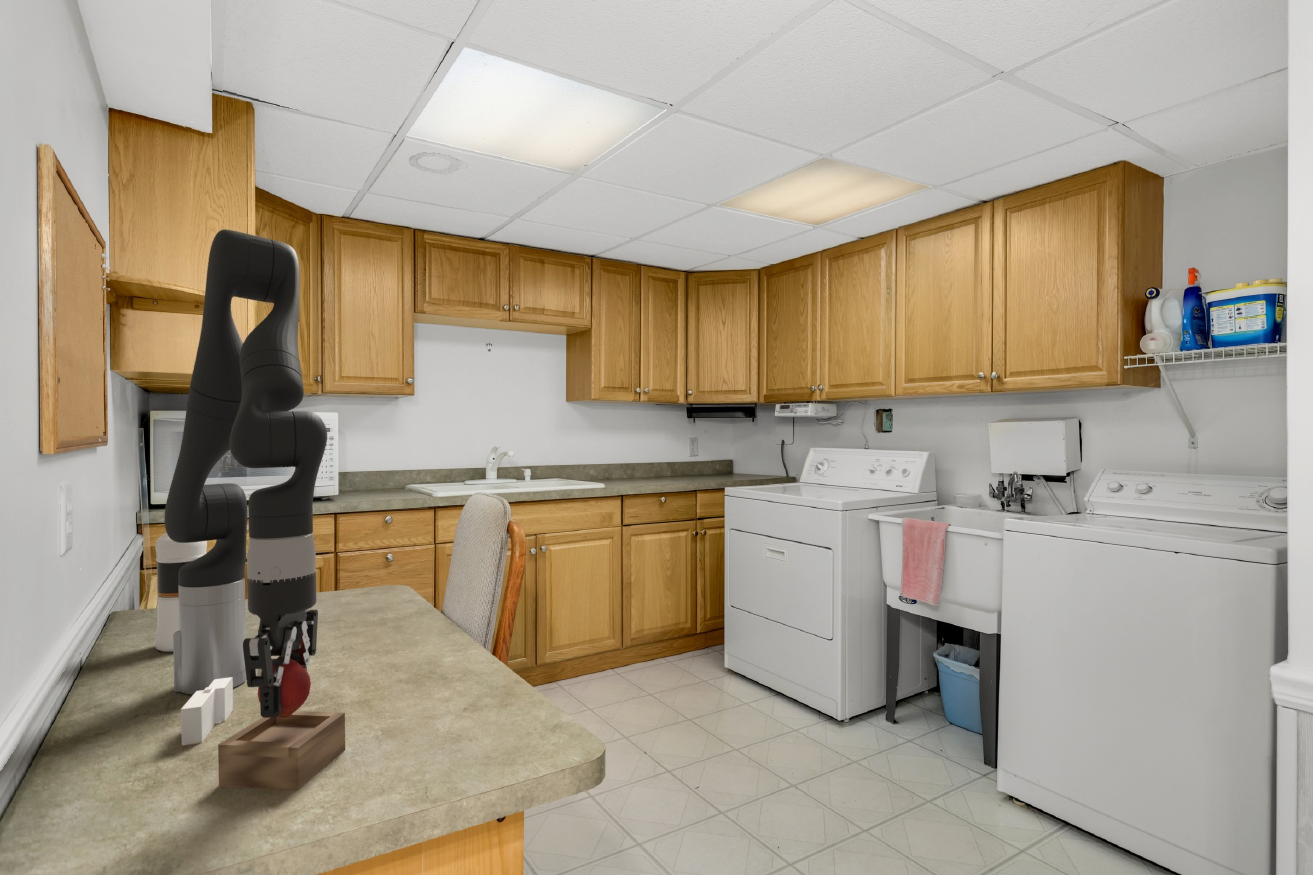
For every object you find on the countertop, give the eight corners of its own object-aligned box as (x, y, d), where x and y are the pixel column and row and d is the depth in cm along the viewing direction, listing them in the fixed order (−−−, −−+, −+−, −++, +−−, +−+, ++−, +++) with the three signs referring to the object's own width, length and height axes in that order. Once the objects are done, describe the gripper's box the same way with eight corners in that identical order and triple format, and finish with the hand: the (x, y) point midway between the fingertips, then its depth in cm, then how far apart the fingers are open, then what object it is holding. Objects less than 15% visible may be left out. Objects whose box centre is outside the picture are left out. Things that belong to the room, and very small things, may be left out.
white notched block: (192, 757, 90) (191, 713, 90) (131, 745, 94) (131, 703, 93) (288, 712, 104) (287, 674, 104) (232, 703, 108) (231, 666, 108)
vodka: (170, 656, 129) (167, 496, 129) (144, 648, 134) (141, 494, 133) (221, 642, 137) (218, 492, 137) (195, 636, 142) (193, 490, 141)
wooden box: (218, 788, 82) (218, 744, 81) (273, 749, 91) (273, 710, 91) (298, 791, 81) (298, 747, 80) (345, 751, 90) (344, 712, 90)
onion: (272, 709, 89) (271, 647, 89) (318, 706, 89) (317, 645, 89) (249, 728, 83) (248, 662, 83) (299, 726, 83) (298, 660, 83)
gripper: (281, 560, 93) (283, 684, 93) (216, 584, 78) (219, 731, 79) (337, 559, 93) (339, 683, 93) (283, 583, 79) (286, 729, 79)
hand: (284, 704), depth 86 cm, fingers closed on onion, 6 cm apart
